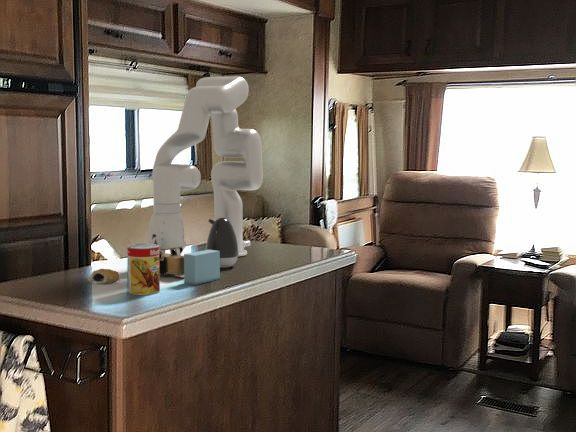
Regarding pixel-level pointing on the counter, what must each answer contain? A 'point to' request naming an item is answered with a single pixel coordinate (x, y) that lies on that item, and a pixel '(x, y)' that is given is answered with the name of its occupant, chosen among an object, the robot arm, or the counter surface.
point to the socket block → (201, 267)
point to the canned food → (143, 269)
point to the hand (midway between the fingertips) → (167, 271)
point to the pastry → (103, 276)
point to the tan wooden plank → (174, 264)
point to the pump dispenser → (223, 241)
